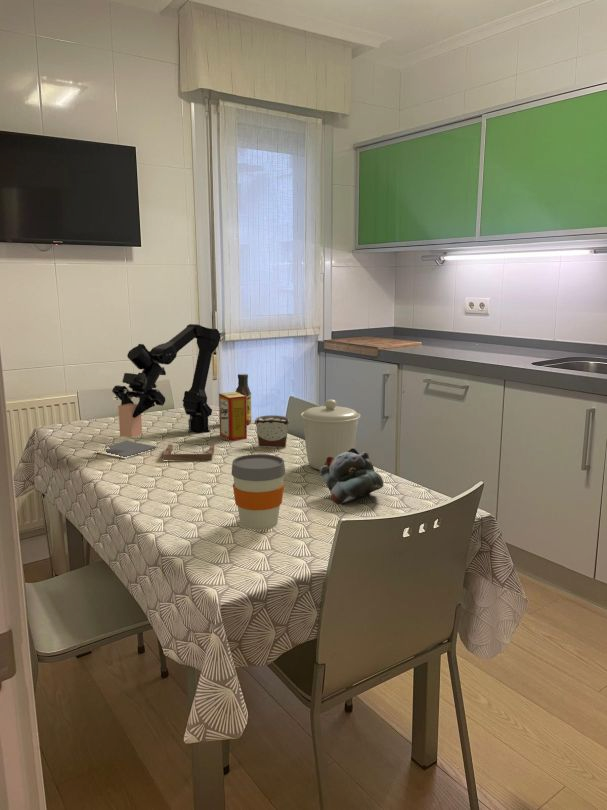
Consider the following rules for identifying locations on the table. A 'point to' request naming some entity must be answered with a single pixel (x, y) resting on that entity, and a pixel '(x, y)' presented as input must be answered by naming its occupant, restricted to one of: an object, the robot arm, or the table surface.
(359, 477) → the grey stuffed animal
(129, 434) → the terracotta block
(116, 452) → the rubber mat
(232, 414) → the baking soda box
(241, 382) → the sauce bottle
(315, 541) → the table surface
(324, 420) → the canister
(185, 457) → the walnut bay
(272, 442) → the food container
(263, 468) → the reusable coffee cup
